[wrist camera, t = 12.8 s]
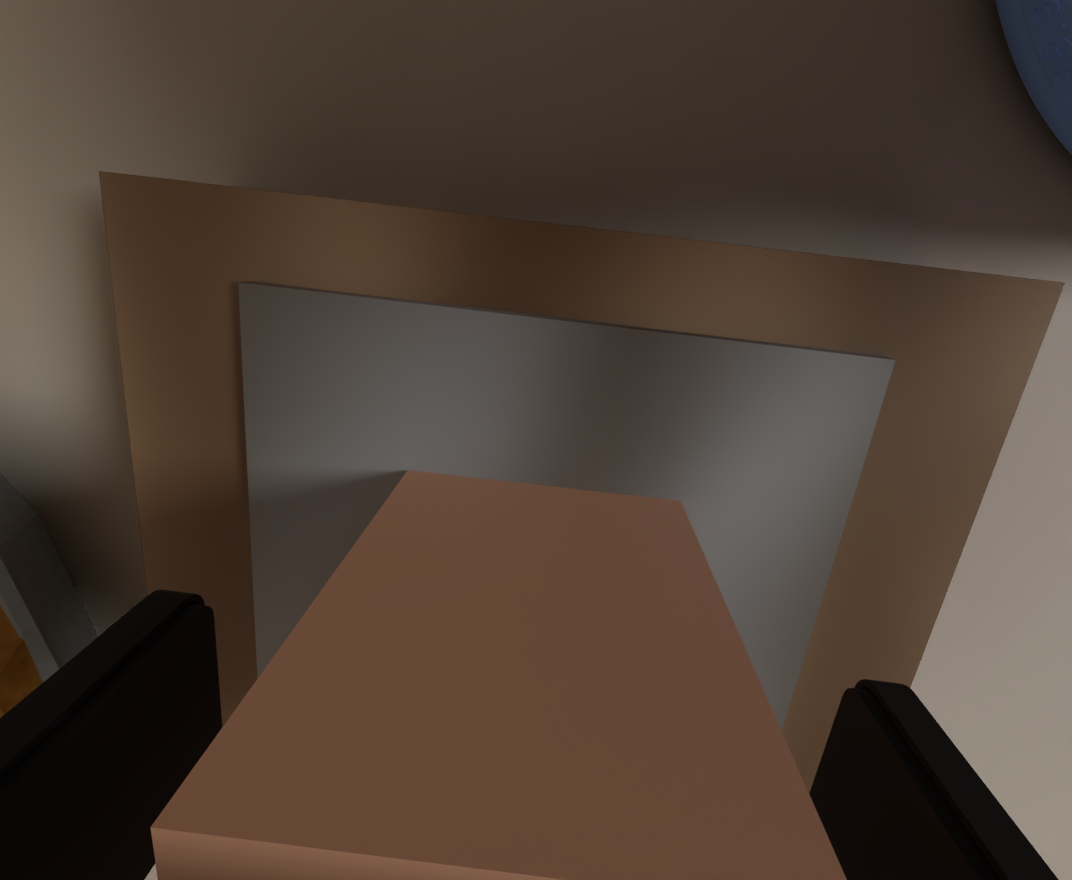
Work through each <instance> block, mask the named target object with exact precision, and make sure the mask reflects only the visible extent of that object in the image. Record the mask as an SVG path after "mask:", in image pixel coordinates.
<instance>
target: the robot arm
mask: <svg viewBox="0 0 1072 880" xmlns="http://www.w3.org/2000/svg"><path fill="white" fill-rule="evenodd" d="M221 729H222V715H221V702H220V688H219V675H218V661H217V648H216V635H215V621H214V613H213V609H212V608H211V607H210V606H206V605H205V603H204V600H203V598H202V597H201V596H200V595H198V594H193V593H185V592H177V591H170V590H162V589H161V590H156V591H154V592H152V593H151V594H149V595H148V596H147V597H146V598H144V599H143V600H142V601H141V602H140V603H138V604H137V605H136V606H135V607H133V608H132V609H131V610H130V611H129V612H127V613H126V614H125V615H124V616H123V617H121V618H120V619H119V620H118V621H117V622H115V623H114V624H113V625H112V626H111V627H109V628H108V629H107V630H106V631H105V632H103V633H102V634H101V635H100V636H99V637H97V638H96V639H95V640H94V641H93V642H91V643H90V644H89V645H88V646H86V647H85V648H84V649H83V650H82V651H80V652H79V653H78V654H77V655H76V656H74V657H73V658H72V659H71V660H70V661H68V662H67V663H66V664H65V665H64V666H62V667H61V668H60V669H59V670H58V671H56V672H55V673H54V674H53V675H52V676H50V677H49V678H48V679H47V680H46V681H44V682H43V683H42V684H41V685H39V686H38V687H37V688H36V689H35V690H33V691H32V692H31V693H30V694H29V695H27V696H26V697H25V698H24V699H23V700H21V701H20V702H19V703H18V704H17V705H15V706H14V707H13V708H12V709H11V710H9V711H8V712H7V713H6V714H5V715H3V716H2V717H1V718H0V880H144V879H145V878H146V876H147V875H148V873H149V872H150V870H151V869H152V867H153V866H154V864H155V856H154V849H153V842H152V835H151V828H150V827H151V826H152V825H153V823H154V822H155V820H156V819H157V818H158V816H159V815H160V814H161V812H162V811H163V809H164V808H165V807H166V805H167V804H168V802H169V801H170V800H171V798H172V797H173V795H174V794H175V793H176V791H177V790H178V789H179V787H180V786H181V784H182V783H183V782H184V780H185V779H186V777H187V776H188V775H189V773H190V772H191V770H192V769H193V768H194V766H195V765H196V764H197V762H198V761H199V759H200V758H201V757H202V755H203V754H204V752H205V751H206V750H207V748H208V747H209V745H210V744H211V743H212V741H213V740H214V739H215V737H216V736H217V734H218V733H219V732H220V730H221ZM809 795H810V797H811V799H812V802H813V804H814V806H815V808H816V811H817V813H818V815H819V817H820V820H821V822H822V824H823V827H824V829H825V831H826V833H827V836H828V838H829V840H830V843H831V845H832V847H833V849H834V852H835V854H836V856H837V859H838V861H839V863H840V865H841V868H842V870H843V872H844V874H845V877H846V879H847V880H1058V878H1057V877H1056V876H1055V875H1054V873H1053V872H1052V871H1051V869H1050V868H1049V867H1048V866H1047V864H1046V863H1045V862H1044V860H1043V859H1042V858H1041V856H1040V855H1039V854H1038V853H1037V851H1036V850H1035V849H1034V847H1033V846H1032V845H1031V843H1030V842H1029V841H1028V840H1027V838H1026V837H1025V836H1024V834H1023V833H1022V832H1021V831H1020V829H1019V828H1018V827H1017V825H1016V824H1015V823H1014V821H1013V820H1012V819H1011V818H1010V816H1009V815H1008V814H1007V812H1006V811H1005V810H1004V808H1003V807H1002V806H1001V805H1000V803H999V802H998V801H997V799H996V798H995V797H994V795H993V794H992V793H991V792H990V790H989V789H988V788H987V786H986V785H985V784H984V783H983V781H982V780H981V779H980V777H979V776H978V775H977V773H976V772H975V771H974V770H973V768H972V767H971V766H970V764H969V763H968V762H967V760H966V759H965V758H964V757H963V755H962V754H961V753H960V751H959V750H958V749H957V748H956V746H955V745H954V744H953V742H952V741H951V740H950V738H949V737H948V736H947V735H946V733H945V732H944V731H943V729H942V728H941V727H940V725H939V724H938V723H937V722H936V720H935V719H934V718H933V716H932V715H931V714H930V712H929V711H928V710H927V709H926V707H925V706H924V705H923V703H922V702H921V701H920V700H919V698H918V697H917V696H916V694H915V693H914V692H913V691H912V690H911V689H910V688H909V687H908V686H906V685H904V684H900V683H892V682H885V681H877V680H869V679H863V680H860V681H859V682H857V683H856V685H855V687H854V688H848V689H846V690H845V692H844V694H843V696H842V698H841V701H840V704H839V707H838V710H837V713H836V716H835V719H834V722H833V725H832V728H831V731H830V734H829V737H828V740H827V743H826V746H825V748H824V751H823V754H822V757H821V760H820V763H819V766H818V769H817V772H816V775H815V778H814V781H813V784H812V787H811V790H810V793H809Z"/></svg>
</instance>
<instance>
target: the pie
mask: <svg viewBox="0 0 1072 880" xmlns="http://www.w3.org/2000/svg"><path fill="white" fill-rule="evenodd" d="M95 639H96V630H95V628H94V626H93V624H92V622H91V620H90V618H89V616H88V614H87V612H86V610H85V608H84V606H83V604H82V602H81V600H80V598H79V596H78V594H77V592H76V590H75V588H74V586H73V584H72V582H71V580H70V578H69V576H68V574H67V572H66V570H65V568H64V566H63V564H62V562H61V560H60V558H59V556H58V554H57V551H56V549H55V547H54V545H53V543H52V541H51V539H50V537H49V535H48V533H47V531H46V529H45V527H44V525H43V523H42V521H41V519H40V517H39V515H38V514H37V513H36V512H35V510H34V509H33V508H32V507H31V506H30V505H29V504H28V503H27V502H26V501H25V500H24V499H23V497H22V496H21V495H20V494H19V493H18V492H17V491H16V490H15V489H14V488H13V487H12V485H11V484H10V483H9V482H8V481H7V480H6V479H5V478H4V477H3V476H2V474H1V473H0V718H1V717H2V716H3V715H5V714H6V713H7V712H8V711H9V710H11V709H12V708H13V707H14V706H15V705H17V704H18V703H19V702H20V701H21V700H23V699H24V698H25V697H26V696H27V695H29V694H30V693H31V692H32V691H33V690H35V689H36V688H37V687H38V686H39V685H41V684H42V683H43V682H44V681H46V680H47V679H48V678H49V677H50V676H52V675H53V674H54V673H55V672H56V671H58V670H59V669H60V668H61V667H62V666H64V665H65V664H66V663H67V662H68V661H70V660H71V659H72V658H73V657H74V656H76V655H77V654H78V653H79V652H80V651H82V650H83V649H84V648H85V647H86V646H88V645H89V644H90V643H91V642H93V641H94V640H95Z"/></svg>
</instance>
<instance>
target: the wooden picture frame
mask: <svg viewBox="0 0 1072 880" xmlns="http://www.w3.org/2000/svg"><path fill="white" fill-rule="evenodd" d="M99 176H100V185H101V194H102V202H103V211H104V220H105V229H106V237H107V246H108V255H109V264H110V272H111V281H112V290H113V299H114V307H115V316H116V325H117V334H118V342H119V351H120V360H121V368H122V377H123V386H124V395H125V403H126V412H127V421H128V430H129V438H130V447H131V456H132V465H133V473H134V482H135V491H136V500H137V508H138V517H139V526H140V534H141V543H142V552H143V561H144V569H145V578H146V587H147V596H148V595H149V594H151V593H152V592H154V591H156V590H161V589H162V590H170V591H177V592H185V593H193V594H198V595H200V596H201V597H202V598H203V600H204V603H205V605H206V606H210V607H211V608H212V609H213V613H214V621H215V635H216V648H217V661H218V675H219V688H220V702H221V715H222V727H223V726H224V725H225V723H226V722H227V720H228V719H229V718H230V716H231V715H232V714H233V712H234V711H235V709H236V708H237V707H238V705H239V704H240V702H241V701H242V700H243V698H244V697H245V695H246V694H247V693H248V691H249V690H250V689H251V687H252V686H253V684H254V683H255V682H256V680H257V679H258V677H259V676H260V675H261V673H262V672H263V671H264V669H265V668H266V666H267V665H268V664H269V662H270V661H271V659H272V658H273V657H274V655H275V654H276V652H277V651H278V650H279V648H280V647H281V646H282V644H283V643H284V641H285V640H286V639H287V637H288V636H289V634H290V633H291V632H292V630H293V629H294V627H295V626H296V625H297V623H298V622H299V621H300V619H301V618H302V616H303V615H304V614H305V612H306V611H307V609H308V608H309V607H310V605H311V604H312V602H313V601H314V600H315V598H316V597H317V596H318V594H319V593H320V591H321V590H322V589H323V587H324V586H325V584H326V583H327V582H328V580H329V579H330V577H331V576H332V575H333V573H334V572H335V571H336V569H337V568H338V566H339V565H340V564H341V562H342V561H343V559H344V558H345V557H346V555H347V554H348V552H349V551H350V550H351V548H352V547H353V546H354V544H355V543H356V541H357V540H358V539H359V537H360V536H361V534H362V533H363V532H364V530H365V529H366V527H367V526H368V525H369V523H370V522H371V521H372V519H373V518H374V516H375V515H376V514H377V512H378V511H379V509H380V508H381V507H382V505H383V504H384V502H385V501H386V500H387V498H388V497H389V496H390V494H391V493H392V491H393V490H394V489H395V487H396V486H397V484H398V483H399V482H400V480H401V479H402V477H403V476H404V475H405V473H406V472H407V471H408V470H412V471H421V472H430V473H439V474H447V475H456V476H465V477H474V478H483V479H492V480H500V481H509V482H518V483H527V484H536V485H545V486H553V487H562V488H571V489H580V490H589V491H598V492H606V493H615V494H624V495H633V496H642V497H651V498H659V499H668V500H677V501H681V503H682V505H683V507H684V510H685V512H686V514H687V516H688V519H689V521H690V523H691V526H692V528H693V530H694V532H695V535H696V537H697V539H698V542H699V544H700V546H701V548H702V551H703V553H704V555H705V557H706V560H707V562H708V564H709V567H710V569H711V571H712V573H713V576H714V578H715V580H716V583H717V585H718V587H719V589H720V592H721V594H722V596H723V599H724V601H725V603H726V605H727V608H728V610H729V612H730V614H731V617H732V619H733V621H734V624H735V626H736V628H737V630H738V633H739V635H740V637H741V640H742V642H743V644H744V646H745V649H746V651H747V653H748V656H749V658H750V660H751V662H752V665H753V667H754V669H755V672H756V674H757V676H758V678H759V681H760V683H761V685H762V687H763V690H764V692H765V694H766V697H767V699H768V701H769V703H770V706H771V708H772V710H773V713H774V715H775V717H776V719H777V722H778V724H779V726H780V729H781V731H782V733H783V735H784V738H785V740H786V742H787V744H788V747H789V749H790V751H791V754H792V756H793V758H794V760H795V763H796V765H797V767H798V770H799V772H800V774H801V776H802V779H803V781H804V783H805V786H806V788H807V790H808V792H809V793H810V790H811V787H812V784H813V781H814V778H815V775H816V772H817V769H818V766H819V763H820V760H821V757H822V754H823V751H824V748H825V746H826V743H827V740H828V737H829V734H830V731H831V728H832V725H833V722H834V719H835V716H836V713H837V710H838V707H839V704H840V701H841V698H842V696H843V694H844V692H845V690H846V689H848V688H854V687H855V685H856V683H857V682H859V681H860V680H863V679H869V680H877V681H885V682H892V683H900V684H904V685H906V686H908V687H909V688H910V687H911V684H912V681H913V679H914V676H915V674H916V671H917V668H918V666H919V663H920V660H921V658H922V655H923V653H924V650H925V647H926V645H927V642H928V640H929V637H930V634H931V632H932V629H933V626H934V624H935V621H936V619H937V616H938V613H939V611H940V608H941V606H942V603H943V600H944V598H945V595H946V592H947V590H948V587H949V585H950V582H951V579H952V577H953V574H954V571H955V569H956V566H957V564H958V561H959V558H960V556H961V553H962V551H963V548H964V545H965V543H966V540H967V537H968V535H969V532H970V530H971V527H972V524H973V522H974V519H975V517H976V514H977V511H978V509H979V506H980V503H981V501H982V498H983V496H984V493H985V490H986V488H987V485H988V482H989V480H990V477H991V475H992V472H993V469H994V467H995V464H996V462H997V459H998V456H999V454H1000V451H1001V448H1002V446H1003V443H1004V441H1005V438H1006V435H1007V433H1008V430H1009V427H1010V425H1011V422H1012V420H1013V417H1014V414H1015V412H1016V409H1017V407H1018V404H1019V401H1020V399H1021V396H1022V393H1023V391H1024V388H1025V386H1026V383H1027V380H1028V378H1029V375H1030V373H1031V370H1032V367H1033V365H1034V362H1035V359H1036V357H1037V354H1038V352H1039V349H1040V346H1041V344H1042V341H1043V338H1044V336H1045V333H1046V331H1047V328H1048V325H1049V323H1050V320H1051V318H1052V315H1053V312H1054V310H1055V307H1056V304H1057V302H1058V299H1059V297H1060V294H1061V291H1062V289H1063V286H1064V284H1065V283H1063V282H1054V281H1045V280H1037V279H1028V278H1019V277H1011V276H1002V275H993V274H985V273H976V272H967V271H959V270H950V269H941V268H933V267H924V266H915V265H907V264H898V263H889V262H881V261H872V260H863V259H855V258H846V257H837V256H829V255H820V254H811V253H803V252H794V251H785V250H777V249H768V248H760V247H751V246H742V245H734V244H725V243H716V242H708V241H699V240H690V239H682V238H673V237H664V236H656V235H647V234H638V233H630V232H621V231H612V230H604V229H595V228H586V227H578V226H569V225H560V224H552V223H543V222H534V221H526V220H517V219H508V218H500V217H491V216H482V215H474V214H465V213H456V212H448V211H439V210H431V209H422V208H413V207H405V206H396V205H387V204H379V203H370V202H361V201H353V200H344V199H335V198H327V197H318V196H309V195H301V194H292V193H283V192H275V191H266V190H257V189H249V188H240V187H231V186H223V185H214V184H205V183H197V182H188V181H179V180H171V179H162V178H153V177H145V176H136V175H127V174H119V173H110V172H102V171H99Z"/></svg>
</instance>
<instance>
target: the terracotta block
mask: <svg viewBox="0 0 1072 880" xmlns="http://www.w3.org/2000/svg"><path fill="white" fill-rule="evenodd" d="M150 828H151V835H152V842H153V849H154V856H155V863H156V870H157V877H158V880H847V879H846V877H845V874H844V872H843V870H842V868H841V865H840V863H839V861H838V859H837V856H836V854H835V852H834V849H833V847H832V845H831V843H830V840H829V838H828V836H827V833H826V831H825V829H824V827H823V824H822V822H821V820H820V817H819V815H818V813H817V811H816V808H815V806H814V804H813V802H812V799H811V797H810V795H809V792H808V790H807V788H806V786H805V783H804V781H803V779H802V776H801V774H800V772H799V770H798V767H797V765H796V763H795V760H794V758H793V756H792V754H791V751H790V749H789V747H788V744H787V742H786V740H785V738H784V735H783V733H782V731H781V729H780V726H779V724H778V722H777V719H776V717H775V715H774V713H773V710H772V708H771V706H770V703H769V701H768V699H767V697H766V694H765V692H764V690H763V687H762V685H761V683H760V681H759V678H758V676H757V674H756V672H755V669H754V667H753V665H752V662H751V660H750V658H749V656H748V653H747V651H746V649H745V646H744V644H743V642H742V640H741V637H740V635H739V633H738V630H737V628H736V626H735V624H734V621H733V619H732V617H731V614H730V612H729V610H728V608H727V605H726V603H725V601H724V599H723V596H722V594H721V592H720V589H719V587H718V585H717V583H716V580H715V578H714V576H713V573H712V571H711V569H710V567H709V564H708V562H707V560H706V557H705V555H704V553H703V551H702V548H701V546H700V544H699V542H698V539H697V537H696V535H695V532H694V530H693V528H692V526H691V523H690V521H689V519H688V516H687V514H686V512H685V510H684V507H683V505H682V503H681V501H677V500H668V499H659V498H651V497H642V496H633V495H624V494H615V493H606V492H598V491H589V490H580V489H571V488H562V487H553V486H545V485H536V484H527V483H518V482H509V481H500V480H492V479H483V478H474V477H465V476H456V475H447V474H439V473H430V472H421V471H412V470H408V471H407V472H406V473H405V475H404V476H403V477H402V479H401V480H400V482H399V483H398V484H397V486H396V487H395V489H394V490H393V491H392V493H391V494H390V496H389V497H388V498H387V500H386V501H385V502H384V504H383V505H382V507H381V508H380V509H379V511H378V512H377V514H376V515H375V516H374V518H373V519H372V521H371V522H370V523H369V525H368V526H367V527H366V529H365V530H364V532H363V533H362V534H361V536H360V537H359V539H358V540H357V541H356V543H355V544H354V546H353V547H352V548H351V550H350V551H349V552H348V554H347V555H346V557H345V558H344V559H343V561H342V562H341V564H340V565H339V566H338V568H337V569H336V571H335V572H334V573H333V575H332V576H331V577H330V579H329V580H328V582H327V583H326V584H325V586H324V587H323V589H322V590H321V591H320V593H319V594H318V596H317V597H316V598H315V600H314V601H313V602H312V604H311V605H310V607H309V608H308V609H307V611H306V612H305V614H304V615H303V616H302V618H301V619H300V621H299V622H298V623H297V625H296V626H295V627H294V629H293V630H292V632H291V633H290V634H289V636H288V637H287V639H286V640H285V641H284V643H283V644H282V646H281V647H280V648H279V650H278V651H277V652H276V654H275V655H274V657H273V658H272V659H271V661H270V662H269V664H268V665H267V666H266V668H265V669H264V671H263V672H262V673H261V675H260V676H259V677H258V679H257V680H256V682H255V683H254V684H253V686H252V687H251V689H250V690H249V691H248V693H247V694H246V695H245V697H244V698H243V700H242V701H241V702H240V704H239V705H238V707H237V708H236V709H235V711H234V712H233V714H232V715H231V716H230V718H229V719H228V720H227V722H226V723H225V725H224V726H223V727H222V729H221V730H220V732H219V733H218V734H217V736H216V737H215V739H214V740H213V741H212V743H211V744H210V745H209V747H208V748H207V750H206V751H205V752H204V754H203V755H202V757H201V758H200V759H199V761H198V762H197V764H196V765H195V766H194V768H193V769H192V770H191V772H190V773H189V775H188V776H187V777H186V779H185V780H184V782H183V783H182V784H181V786H180V787H179V789H178V790H177V791H176V793H175V794H174V795H173V797H172V798H171V800H170V801H169V802H168V804H167V805H166V807H165V808H164V809H163V811H162V812H161V814H160V815H159V816H158V818H157V819H156V820H155V822H154V823H153V825H152V826H151V827H150Z"/></svg>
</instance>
